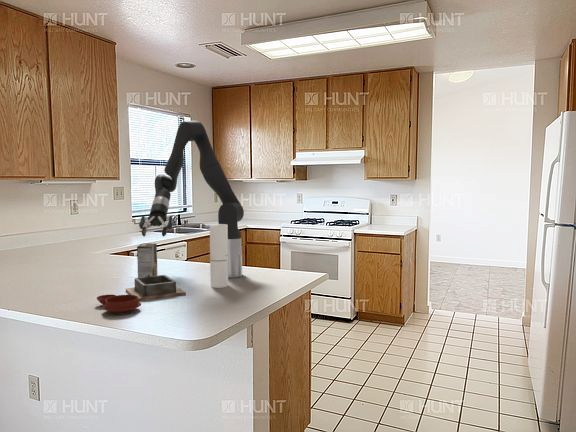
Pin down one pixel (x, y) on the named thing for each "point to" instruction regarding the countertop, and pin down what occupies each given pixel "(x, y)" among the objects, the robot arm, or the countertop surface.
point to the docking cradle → (155, 288)
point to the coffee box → (147, 260)
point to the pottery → (119, 303)
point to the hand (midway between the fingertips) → (153, 235)
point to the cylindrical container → (219, 255)
